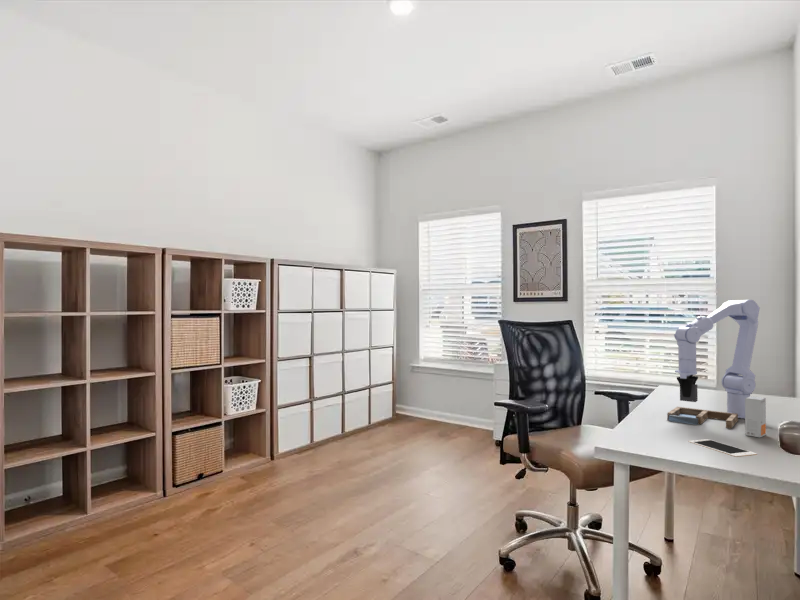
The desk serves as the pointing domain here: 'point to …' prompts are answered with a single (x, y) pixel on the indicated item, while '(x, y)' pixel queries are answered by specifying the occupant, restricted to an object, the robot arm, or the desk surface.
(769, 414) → the desk surface
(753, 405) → the skincare box
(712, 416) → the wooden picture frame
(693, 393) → the tall grey box
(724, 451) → the cell phone
